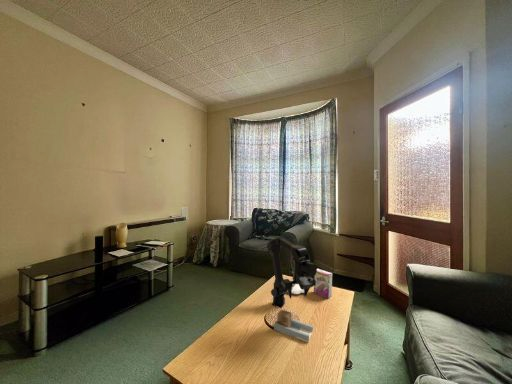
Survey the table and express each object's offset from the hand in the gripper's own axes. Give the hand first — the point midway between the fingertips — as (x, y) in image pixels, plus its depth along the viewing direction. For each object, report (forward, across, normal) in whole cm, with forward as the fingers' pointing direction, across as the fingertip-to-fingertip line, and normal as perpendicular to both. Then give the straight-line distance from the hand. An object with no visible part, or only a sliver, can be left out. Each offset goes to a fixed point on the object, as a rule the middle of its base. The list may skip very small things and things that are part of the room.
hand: (298, 297), depth 119 cm
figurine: (+14, +15, +32) cm, 38 cm away
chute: (+13, -6, -8) cm, 16 cm away
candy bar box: (+14, +30, +20) cm, 38 cm away
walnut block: (+12, -10, -4) cm, 16 cm away
